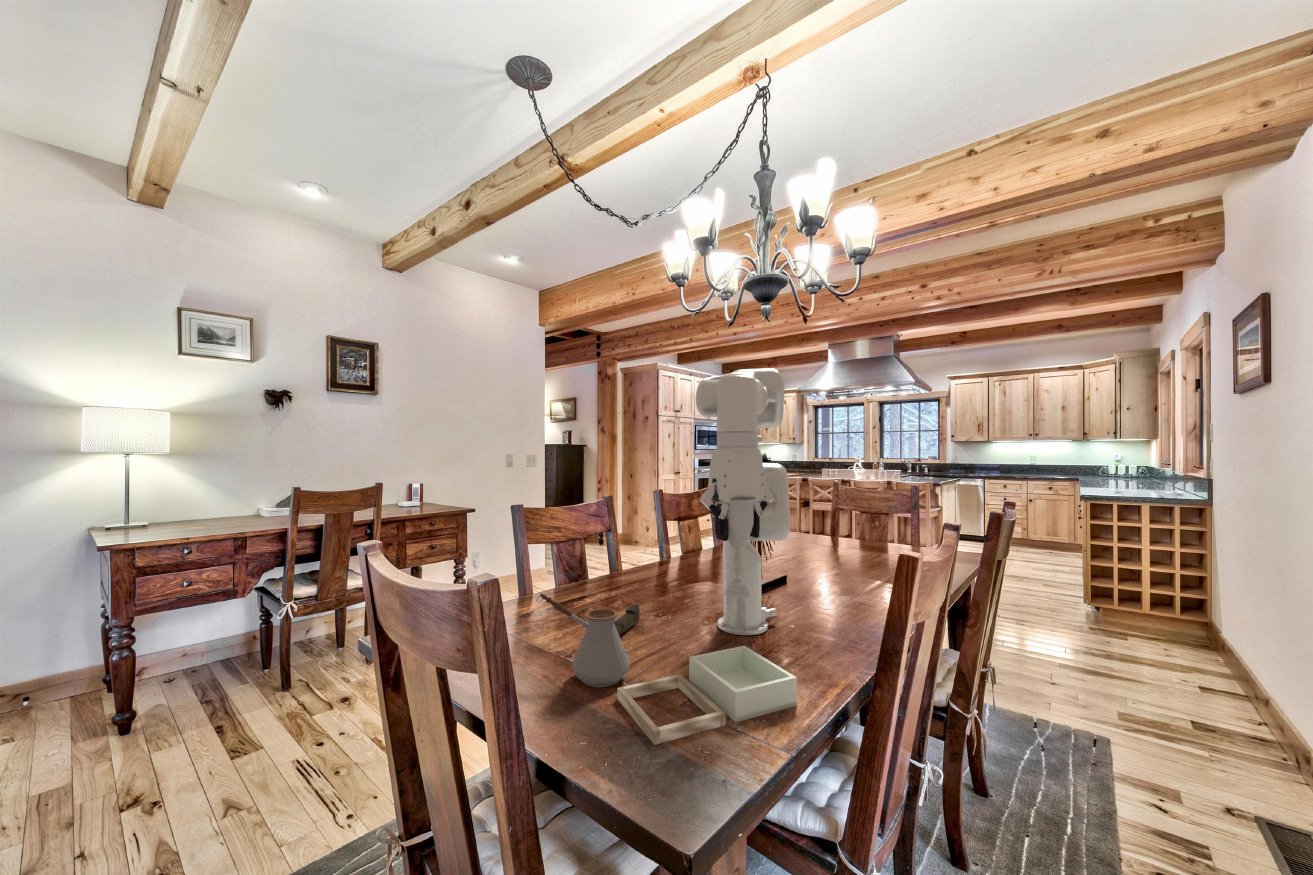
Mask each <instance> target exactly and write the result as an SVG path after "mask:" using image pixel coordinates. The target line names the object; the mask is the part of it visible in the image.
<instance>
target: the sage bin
mask: <svg viewBox="0 0 1313 875" xmlns="http://www.w3.org/2000/svg"><path fill="white" fill-rule="evenodd" d="M688 658H689V659H688V663H689V664H688V665H689V666H688V669H689V671H688V672H689V674H688V676H689V677H688V678H689V680H688V681H689V682H690V683H691V684H692V685H693V686H694V687H696V688H697V689H698V690H699V691H700V692H701V693H703V694H704V695H705V696H706V697H707V698H708V699H710V700H711V701H712V702H713V703H714V704H715V705H716V706H718V707H719V708H720V709H721V710H722V711H723V712H725V716H727V717H729V719H731V720H732V721H733V722H734V723H740V722H743V721H746V720H749V719H754V718H757V717H761V716H764V715H769V714H772V713H776V712H779V711H782V710H783V711H784V710H786V709H790V708H794V707H797V706H798V694H797V693H798V692H797V691H798V681H797V680H798V677H797V676H795V675H794V674H792V673H790V672H788V671H787V670H785V669H783V668H782V667H780V666H778V665H777V664H775V663H774V662H772V661H771V660H769V659H767V658H765V657H764V656H762V655H761V654H759V653H757V652H755V651H754V650H752V649H750V648H749V647H747V646H746V645H741V646H737V647H731V648H726V649H721V650H716V651H712V652H707V653H702V654H697V655H691V656H689V657H688Z"/></svg>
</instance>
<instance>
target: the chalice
mask: <svg viewBox="0 0 1313 875" xmlns="http://www.w3.org/2000/svg"><path fill="white" fill-rule="evenodd" d="M755 500H756V499H751V500H730V503H729V504H728V505H729V507H728V510H727V513H726V516H725V519H728V541H729V543H730V545H731V546H733V547H735V551H736V552H735V556H734V559H735V566H734V567H733V568H734V570H735V573H736V575H735V578H734V580H731V581H730V582H729V583H728V586H727V588H726V589H727V590H726V591H725V593H724V592H723V595H724V594H725V595H726V596H728V597H732V598H746V597H750V596H751V595H752V594H751V592H750V591H749V590H750V589H749V587H748V584H747V583H746V582H745V581H743V580H742V578H741V576H740V572H741V569H742V567H741V565H740V561H741V559H742V557H741V554H740V549H741V547H743V546H745V545H746V542H747V540H748V538H749V536H750V534H751V531H752V528H753V524H754V505H753V504H754V502H755Z"/></svg>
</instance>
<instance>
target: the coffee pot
mask: <svg viewBox="0 0 1313 875" xmlns="http://www.w3.org/2000/svg"><path fill="white" fill-rule="evenodd" d="M540 598H541V599H540ZM539 599H540V600H539ZM543 600H545V601H546V603H547V604H550V605H551V606H552V607H553V608H554V609H556V610H557V611H559V612H561V613H563V614H564V615H565V616H568V617H569V618H571V619H573V620H574V621H576V622H577V623H578V624H580V625H581V626H583V628H585V629H586V630H585V632H584V635H583V637H582V639H581V642H580V645H579V646H578V649H577V651H576V654H575V656H574V659H573V660H572V661H573V662H572V664H571V666H572V671H573V673H574V674H575V676H576V677H577V679H579V681H580V680H581V682H582V683H583V684H585V685H586V686H589V687H593V688H605V687H611V686H613V685H616V684H617V683H619V682H620V681H621V679H622V678H623V677H625V675H626V674H627V673H628V671H629V669H630V667H631V666H630V665H631V662H630V658H629V656H628V654H627V652H626V651H627V650H626V649H625V647H624V644H623V641H622V639H621V637H620V636H619V634H618V632H617V629H616V627H615V625H614V622H615V621H616V618H617V617H618V612H617V611H616V610H614V609H611V608H596V609H592V610H588V611H586V613H585V614H584V617H585V618H586V619H587V621H585V620H583V619H582V618H580V617H578V616H577V615H575V614H573V612H571V611H570V610H569V609H568V608H566V607H565V606H564V605H562V604H561V603H559V602H558V601H555V600H554V599H552V597H550V596H549V597H548V596H547V595H546V594H544V593H540V595H539V596H538V597H537V598H536V602H537V603H541V602H542V601H543Z"/></svg>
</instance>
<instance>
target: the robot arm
mask: <svg viewBox="0 0 1313 875" xmlns="http://www.w3.org/2000/svg"><path fill="white" fill-rule="evenodd" d="M785 392H786V391H785V380H784V377H783V375H782V373H781V372H780V371H779V370H777V369H775V368H746V369H744V368H743V369H742V368H741V369H737V370H734V371H731V373H726V374H722V375H718V376H717V375H716V376H710V377H705V378H703V379H702V380H701V381H699V384H698V385H697V387H696V392H695V406H696V408H697V411H698V413H699V414H700V415H702V416H703V417H705V418H706V417H707V418H716V449H713V450H712V453H711V457H710V458H711V459H710V463H709V464H710V465H709V473H708V485H707V487H708V488H707V489H706V490H705V491H704V493H703V494H702V495H701V496H700V498H699V501H700V503H702V505H703V506H704V507H705V508H706V510H707V511H708V512H709V513H710V514H711V515H712V518H714V534H715V538H716V539H717V540H720V541H722V548H723V550H722V554H723V616H722V617H720V618H718V620H717V627H718V628H719V630H721V631H723V632H725V633H728V634H732V635H737V636H754V635H755V636H756V635H761V634H763V633H765V632H766V631H768V629H769V624H768V622H767V621H766V619H768V618H769V617H770V618H771V617H772V618H773V617H777V615H778V611H777V609H776V608H775V607H774V608H772V607H771V608H768V609H767V607H765V606H764V607H762V557H761V554H760V553H759V551H758V550H757V549H756V547H755V546H754V545H753V544H752V543H751V542H756V541H757V542H758V541H759V542H761V541H762V542H763V541H765V542H783V541H785V540H787V539H788V538H789V536H790V533H791V509H790V508H791V507H790V504H791V503H790V486H789V476H788V471H787V469H786V468H785V466H783V465H782V464H780V463H776V462H775V463H774V462H763V457H762V451H761V449H759V443H760V444H761V443H762V442H763V437H762V436H761V435H759V432H758V430H759V429H774V428H777V427H779V426H780V425H781V424H782V422H783V419H784V408H785V407H784V406H785V405H784V404H785ZM751 499H756V500H755V502H754V504H753V505H754V524H753V528H752V531H751V534H750V536H749V538H748V540H747V542H746V545H745V546H743V547H741V549H740V554H741V557H742V559H741V561H740V565H741V567H742V569H741V572H740V576H741V578H742V580H743V581H745V582H746V583H747V584H748V587H749V589H750V590H749V591H750V592H751V594H752V595H751V596H750V597H746V598H732V597H728V596H726V595H725V594H724V593H725V591H726V590H727V589H726V588H727V586H728V583H729V582H730V581H731V580H734V578H735V575H736V573H735V570H734V568H733V567H734V566H735V559H734V556H735V552H736V551H735V547H733V546H731V545H730V543H729V541H728V519H725V516H726V513H727V510H728V507H729V505H728V504H729V503H730V500H751ZM714 502H715V503H714Z"/></svg>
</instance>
